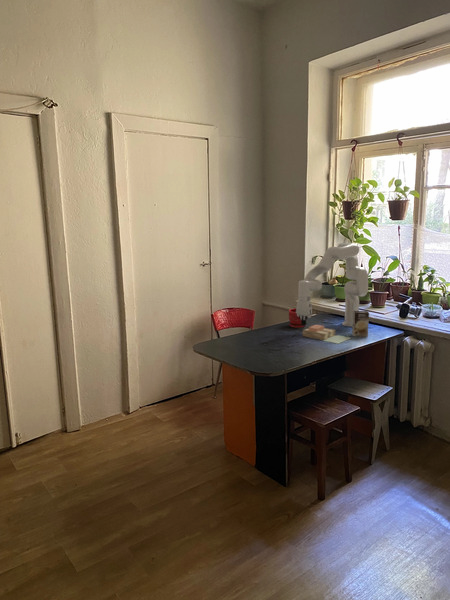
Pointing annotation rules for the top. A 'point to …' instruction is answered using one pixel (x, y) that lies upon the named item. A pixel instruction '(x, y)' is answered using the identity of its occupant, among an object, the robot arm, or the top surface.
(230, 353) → the top surface
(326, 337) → the deck
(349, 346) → the top surface
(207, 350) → the top surface
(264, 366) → the top surface
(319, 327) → the salmon brown flat block
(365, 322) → the coffee box
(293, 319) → the plant pot
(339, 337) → the mat
